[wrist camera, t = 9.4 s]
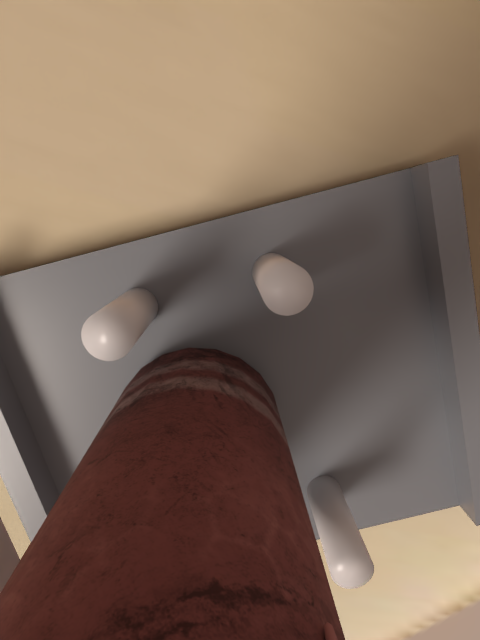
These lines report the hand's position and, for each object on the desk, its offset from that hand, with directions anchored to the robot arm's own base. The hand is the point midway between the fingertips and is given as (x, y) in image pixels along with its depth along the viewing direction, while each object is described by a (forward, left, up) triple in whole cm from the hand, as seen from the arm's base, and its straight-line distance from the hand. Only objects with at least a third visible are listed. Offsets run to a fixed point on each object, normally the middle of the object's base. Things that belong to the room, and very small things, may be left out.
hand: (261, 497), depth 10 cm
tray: (0, 0, -7) cm, 7 cm away
